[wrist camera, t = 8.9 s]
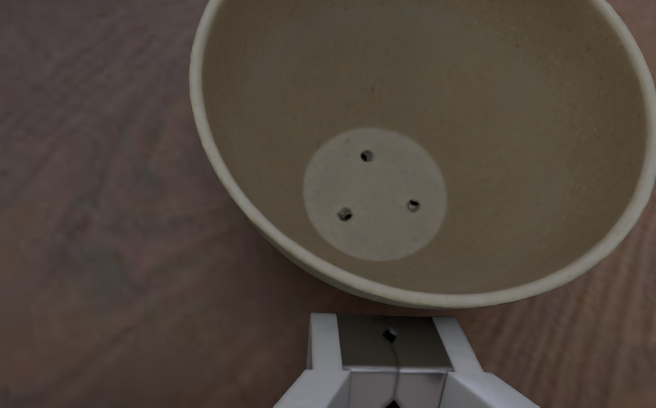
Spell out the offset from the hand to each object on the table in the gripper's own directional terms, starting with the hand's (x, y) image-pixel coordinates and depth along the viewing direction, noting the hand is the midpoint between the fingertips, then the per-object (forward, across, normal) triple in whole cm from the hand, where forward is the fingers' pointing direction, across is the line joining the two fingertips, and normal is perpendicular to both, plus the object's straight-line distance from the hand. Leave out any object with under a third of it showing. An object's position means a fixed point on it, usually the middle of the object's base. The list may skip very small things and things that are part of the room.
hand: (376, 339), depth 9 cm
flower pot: (+7, -1, 0) cm, 7 cm away
